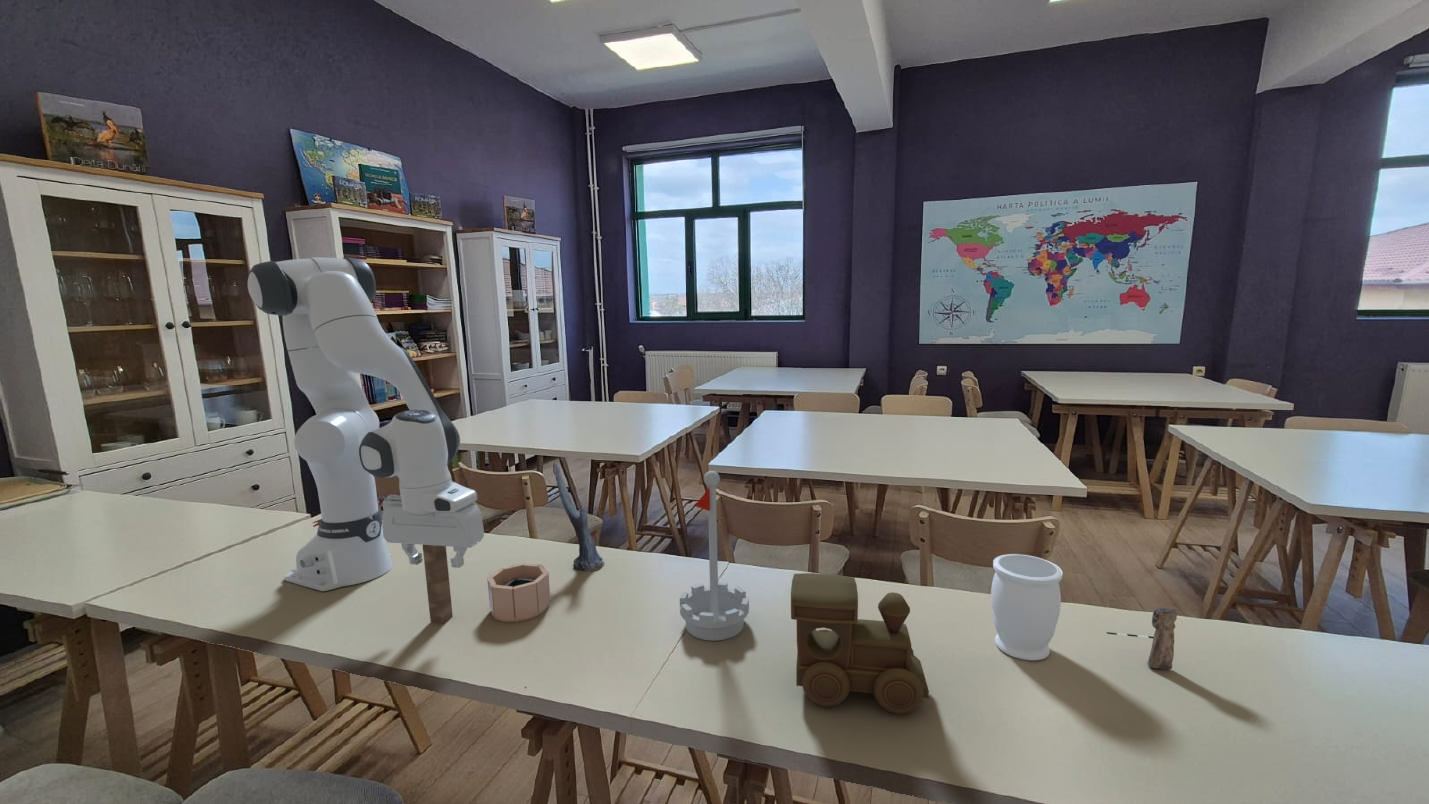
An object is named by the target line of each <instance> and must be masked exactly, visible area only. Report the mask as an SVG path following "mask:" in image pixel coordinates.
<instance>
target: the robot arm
mask: <svg viewBox="0 0 1429 804" xmlns="http://www.w3.org/2000/svg"><path fill="white" fill-rule="evenodd" d="M247 290H248V294H249V296H250V298H251V300H252V301H253V302H254V304H255V306H256V307H257V309H258V310H261V311H262V312H263V313H265V314H268V315H273V316H274V315H275V316H282V326H283V327H282V328H283V334H284V341H285V344H286V349H287V350H286V351H287V353H288V357H289V360H290V365H291V368H292V372H293V375H294V379H295V383H296V386H297V387H298V389H299V391H301V392H302V393H303V394H305V396H306V397H307V399H308V401H309V402H310V404H311V406H312V408H313V409H314V411H315V415H313V416H311V417H309V418H308V419H307V420H306V421H304V423H303V424H301V426H300V427H299V428H298V429H297V431H296V433H295V436H294V441H293V443H294V449H295V451H296V453H297V454H298V456H300V457H301V458H302V459H303V460H304V461H306V463H307V465H308V467H309V470H310V473H311V474H312V476H313V478H314V482H315V485H316V488H317V493H318V494H317V496H318V501H319V507H320V514H321V518H320V519H317V520H315V521H313V522H312V524H314V525H312V527H313V528H315V527H317V526H318V527H317V532H316V535H314V537H313V538H311V540H309V541H308V542H307V543H306V544H304V545H303V546H302V547H301V548H300V549H299V550H298V551H297V552H296V556H295V565H296V566H295V568H293V569H291V570H290V571H288V572H287V573H286V574H285V575H284V581H286V582H288V583H293V584H296V585H300V586H303V587H306V588H309V589H313V590H317V591H320V592H327V591H331V590H334V589H338V588H342V587H347V586H353V585H357V584H362V583H365V582H368V581H371V580H374V579H377V578H379V577H381V576H383V575H385V574H386V573H388V572H390V570H391V569H393V565H394V563H393V561H392V559H391V558H392V553H391V552H389V549H388V545H387V544H389V543H391V544H401V548H402V550H403V551H404V553H405V554H406V556H407V557H408V560H409V564H410V565H412V566H413V565H419V564H421V563H422V562H423V554H422V552H419V551H418V549H417V548H416V546H415V545H419V546H420V545H422V546H423V545H435V546H446V547H453V551H454V552H456V553H455V556H454V557H452V558H450V563H451V565H450V566H451V568H454V569H455V568H456V569H457V568H458V569H460V568H461V567H463V566H464V564H465V562H464V561H465V560H464V556H465V554H466V553H467V552H466V551H467V549H468V548H473V547H475V546H476V545H477V544H479V543H480V542H481V541H482V540H483V538H484V535H485V531H484V530H485V529H484V524H483V518H482V513H481V510H480V507H478V505H477V504H476V501H477V500H478V494H477V491H475V490H474V489H472V488H468V487H466V486H463V485H461V484H459V483H458V482H455V481H453V480H452V475H451V473H450V471H449V467H448V464H449V463H451V462H452V461H453V460H454V458H455V457H456V455H457V453H458V452H459V448H460V445H461V437H460V434H459V433H460V432H459V431H458V429H457V427H456V426H455V425H454V423H453V422H452V421H451V419H450V418H449V417H448V416H447V415H446V413H445V411H444V410H443V408H442V407H441V405H440V403H439V402H438V400H437V399H436V396H435V394H434V393H433V391H432V390H431V388H430V386H429V384H428V383H427V381H426V379H425V377H424V375H423V374H422V372H421V371H420V369H419V367H418V365H417V363H416V362H415V361H414V359H413V358H412V356H411V355H410V353H409V352H408V351H407V350H406V349H405V348H403V347H401V346H399V345H397V344H396V343H395V342H394V341H393V340H392V339H391V337H389V336H388V334H387V333H386V332H385V330H384V329H383V327H382V325H381V323H380V322H379V318H378V316H377V313H376V311H375V309H374V306H373V305H372V303H371V302H372V301H373V300H374V299H375V297H376V295H377V284H376V278H375V275H374V272H373V270H372V268H371V267H370V266H369V265H368V264H367V262H365V261H364V260H362V259H358V258H354V257H348V256H347V257H346V256H345V257H343V258H341V257H340V258H337V257H322V256H321V257H320V256H318V257H317V256H315V257H308V258H297V259H296V258H295V259H287V260H281V261H280V260H279V261H274V260H270V261H264V262H259V263H256V264H254V265H253V266H252V267H251V268H250V270H249V271H248V278H247ZM357 374H361V375H366V376H370V377H374V378H378V379H380V380H383V381H385V382H388V383H389V384H391V385H393V387H394V388H395V389H396V390H397V391H398V392H399V394H400V396H401V398H402V399H403V401H404V403H405V404H406V406H407V408H408V409H409V410H408V409H407V410H404V411H401V412H397V414H395V415H394V416H393V417H392V419H391V422H389V423H387V424H386V425H383V426H381V427H380V420H379V417H378V415H377V412H376V411H374V410H373V409H372V407H371V406H370V403H369V401H368V398H367V397H366V395H365V393H364V391H363V389H362V387H361V385H360V382H359V380H358V377H357ZM395 476H396V477H398V481H399V483H398V488H399V492H400V494H399V495H396V494H388V495H387V497H385V498H384V499H383V501H382V512H381V509H380V508H379V505H378V504H379V502H378V495H377V488H376V479H375V477H376V478H378V479H384V478H392V477H395Z"/></svg>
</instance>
